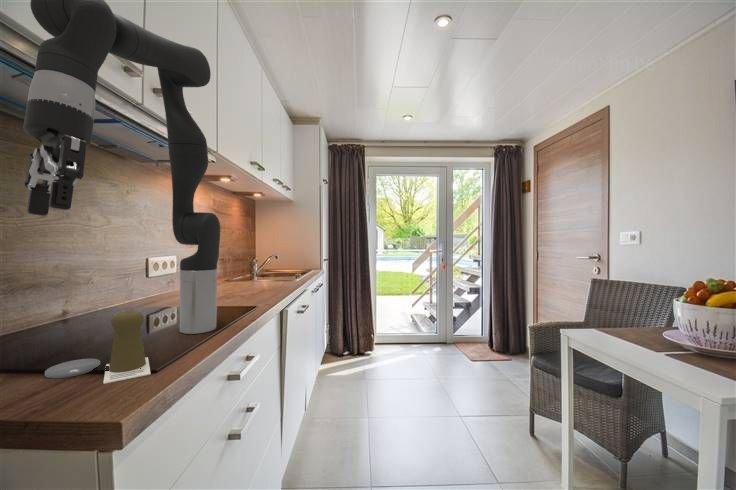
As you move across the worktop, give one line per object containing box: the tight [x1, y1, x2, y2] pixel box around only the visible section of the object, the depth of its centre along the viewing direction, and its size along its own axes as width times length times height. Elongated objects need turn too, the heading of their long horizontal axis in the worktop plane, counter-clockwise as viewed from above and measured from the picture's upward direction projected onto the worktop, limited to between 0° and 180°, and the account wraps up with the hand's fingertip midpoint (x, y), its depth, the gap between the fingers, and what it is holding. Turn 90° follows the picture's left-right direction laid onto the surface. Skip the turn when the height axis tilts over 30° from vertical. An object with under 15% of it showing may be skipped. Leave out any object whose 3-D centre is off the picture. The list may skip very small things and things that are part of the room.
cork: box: [109, 310, 146, 373], centre depth 64 cm, size 6×6×11 cm
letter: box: [102, 356, 152, 385], centre depth 63 cm, size 10×7×1 cm
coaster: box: [44, 358, 101, 379], centre depth 62 cm, size 8×8×1 cm
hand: (47, 212), depth 48 cm, fingers open, 8 cm apart
